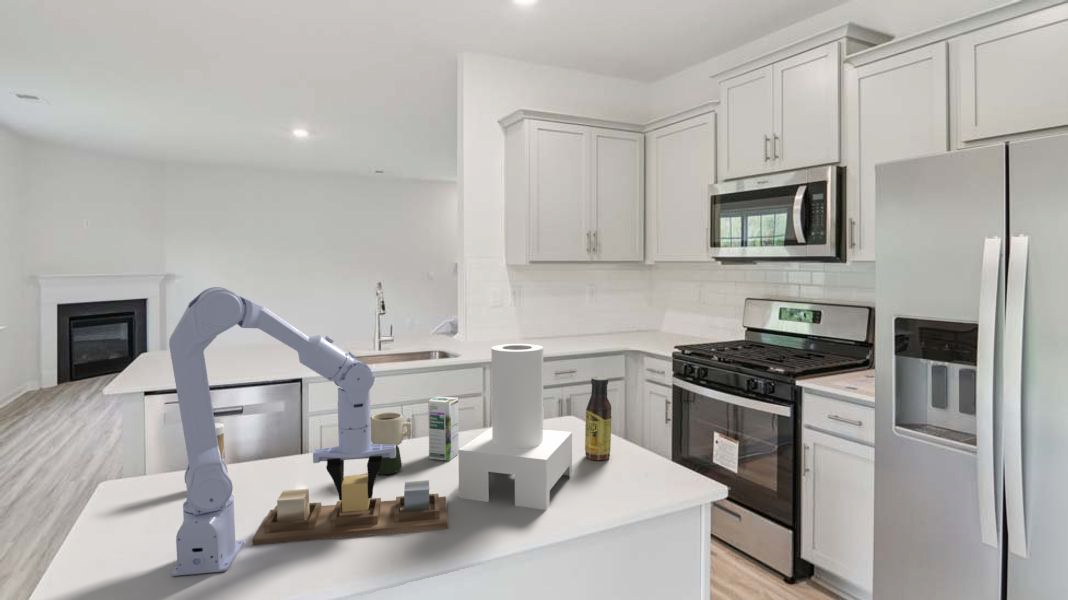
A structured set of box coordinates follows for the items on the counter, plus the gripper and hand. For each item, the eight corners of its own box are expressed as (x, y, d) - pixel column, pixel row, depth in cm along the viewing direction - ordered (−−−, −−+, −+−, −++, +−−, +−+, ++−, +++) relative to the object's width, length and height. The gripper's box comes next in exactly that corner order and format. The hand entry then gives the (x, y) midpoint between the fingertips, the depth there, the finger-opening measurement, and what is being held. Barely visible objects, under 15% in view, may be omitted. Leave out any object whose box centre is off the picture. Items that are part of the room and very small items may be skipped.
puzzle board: (448, 528, 105) (447, 496, 105) (252, 545, 99) (251, 510, 99) (445, 501, 117) (445, 472, 117) (270, 514, 111) (269, 484, 111)
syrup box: (428, 459, 142) (427, 400, 141) (438, 451, 147) (438, 395, 146) (449, 461, 140) (448, 402, 139) (459, 453, 146) (459, 396, 145)
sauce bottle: (580, 455, 144) (580, 376, 143) (601, 451, 147) (602, 373, 145) (593, 463, 138) (594, 381, 137) (616, 459, 141) (616, 378, 140)
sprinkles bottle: (227, 487, 124) (225, 426, 123) (203, 492, 122) (200, 429, 121) (225, 481, 128) (222, 421, 127) (201, 485, 126) (198, 424, 125)
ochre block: (367, 510, 106) (367, 483, 106) (342, 512, 106) (341, 485, 105) (370, 500, 111) (369, 474, 110) (345, 501, 110) (344, 475, 110)
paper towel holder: (546, 510, 113) (546, 356, 111) (459, 497, 119) (457, 352, 117) (571, 476, 131) (572, 343, 129) (494, 466, 137) (493, 339, 135)
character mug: (411, 464, 138) (410, 410, 137) (412, 475, 131) (411, 418, 131) (363, 468, 136) (362, 413, 135) (362, 479, 129) (361, 421, 128)
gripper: (396, 417, 112) (397, 486, 113) (317, 421, 110) (319, 491, 111) (394, 427, 105) (395, 500, 106) (309, 432, 103) (312, 507, 104)
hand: (356, 497), depth 108 cm, fingers closed on ochre block, 4 cm apart
